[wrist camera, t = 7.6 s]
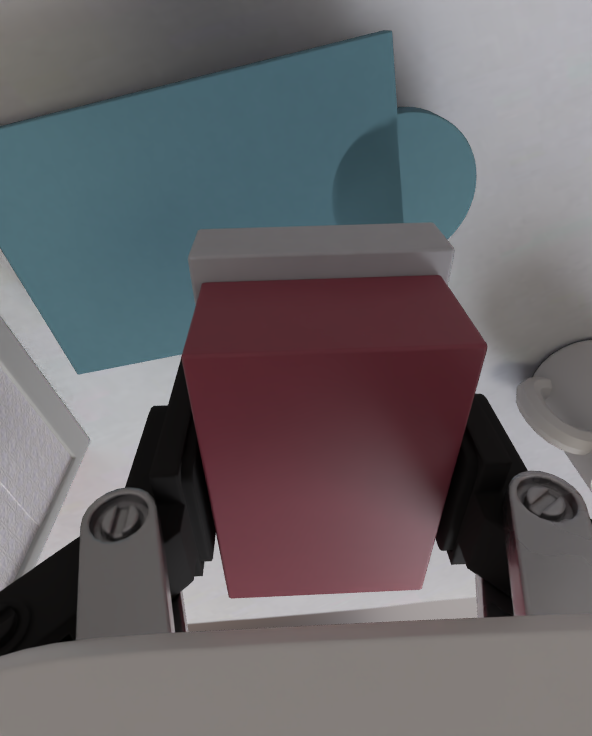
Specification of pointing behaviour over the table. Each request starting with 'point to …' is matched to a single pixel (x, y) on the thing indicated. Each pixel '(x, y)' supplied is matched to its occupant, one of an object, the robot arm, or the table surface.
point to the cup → (563, 404)
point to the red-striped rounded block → (31, 458)
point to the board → (211, 185)
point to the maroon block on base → (327, 401)
